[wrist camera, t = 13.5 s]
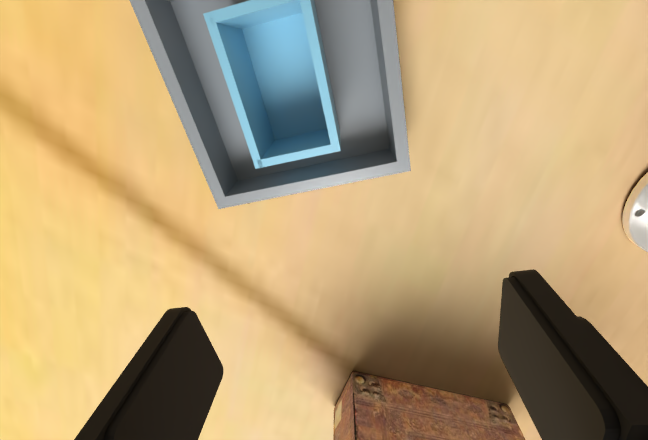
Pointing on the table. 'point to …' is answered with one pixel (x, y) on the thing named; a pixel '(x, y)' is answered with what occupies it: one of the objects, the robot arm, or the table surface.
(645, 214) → the robot arm
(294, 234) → the table surface
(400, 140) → the grey square tray
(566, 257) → the table surface
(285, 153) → the teal crate
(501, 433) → the book
